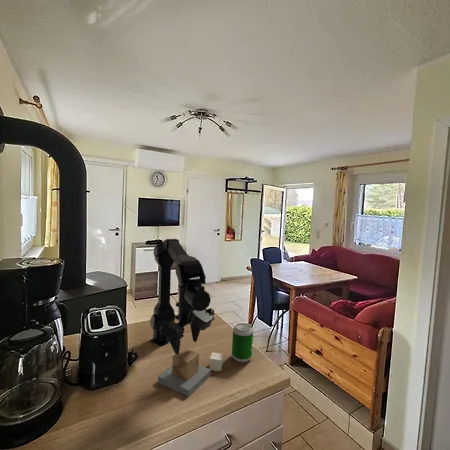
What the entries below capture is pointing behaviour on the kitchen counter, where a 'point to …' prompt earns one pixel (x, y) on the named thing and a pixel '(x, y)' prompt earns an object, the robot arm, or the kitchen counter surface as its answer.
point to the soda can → (242, 342)
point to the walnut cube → (185, 364)
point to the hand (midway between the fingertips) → (186, 347)
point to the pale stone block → (216, 361)
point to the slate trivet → (182, 385)
